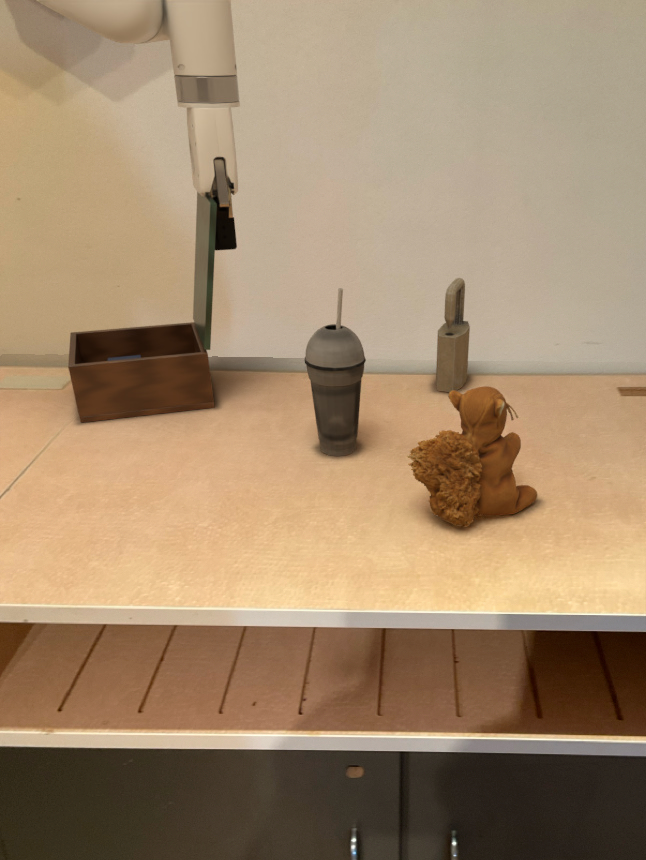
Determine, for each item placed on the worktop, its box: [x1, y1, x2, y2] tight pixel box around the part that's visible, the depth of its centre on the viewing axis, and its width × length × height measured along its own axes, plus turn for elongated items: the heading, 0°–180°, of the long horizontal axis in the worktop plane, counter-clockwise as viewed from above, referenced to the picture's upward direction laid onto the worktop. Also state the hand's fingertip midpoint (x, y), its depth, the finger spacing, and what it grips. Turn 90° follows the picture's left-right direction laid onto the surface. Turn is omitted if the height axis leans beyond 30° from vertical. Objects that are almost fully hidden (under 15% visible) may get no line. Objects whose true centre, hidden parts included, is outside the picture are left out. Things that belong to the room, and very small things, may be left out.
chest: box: [67, 321, 215, 423], centre depth 112 cm, size 18×15×8 cm
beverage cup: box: [303, 288, 367, 457], centre depth 94 cm, size 7×7×20 cm
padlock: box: [435, 277, 471, 393], centre depth 115 cm, size 4×8×15 cm, turn 163°
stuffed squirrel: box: [406, 385, 538, 528], centre depth 84 cm, size 10×14×13 cm
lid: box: [192, 191, 217, 351], centre depth 107 cm, size 18×15×1 cm
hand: (224, 248), depth 107 cm, fingers closed
